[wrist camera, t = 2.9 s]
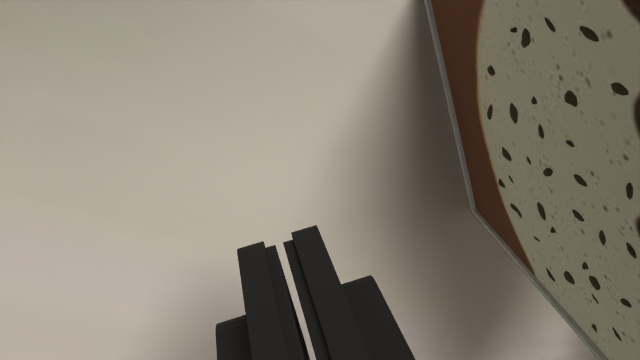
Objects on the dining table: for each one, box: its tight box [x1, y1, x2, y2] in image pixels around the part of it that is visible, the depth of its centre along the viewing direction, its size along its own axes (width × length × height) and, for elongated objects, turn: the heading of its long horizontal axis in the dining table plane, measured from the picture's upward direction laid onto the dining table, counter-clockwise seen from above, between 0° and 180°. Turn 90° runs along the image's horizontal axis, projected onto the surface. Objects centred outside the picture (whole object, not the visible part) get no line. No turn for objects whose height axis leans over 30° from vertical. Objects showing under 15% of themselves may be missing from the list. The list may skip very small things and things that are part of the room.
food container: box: [424, 0, 640, 360], centre depth 13 cm, size 12×6×10 cm, turn 20°
